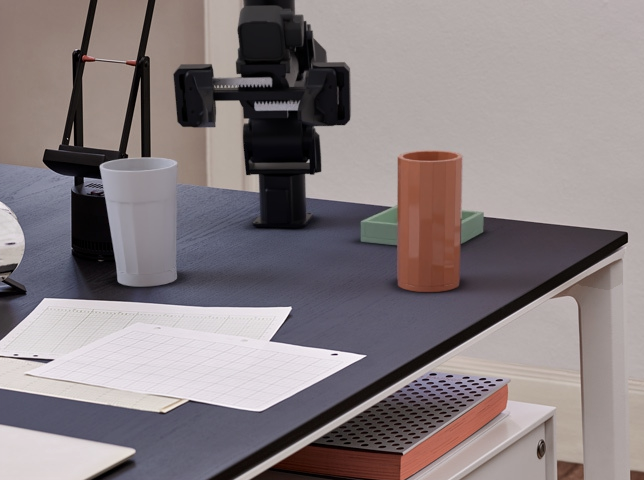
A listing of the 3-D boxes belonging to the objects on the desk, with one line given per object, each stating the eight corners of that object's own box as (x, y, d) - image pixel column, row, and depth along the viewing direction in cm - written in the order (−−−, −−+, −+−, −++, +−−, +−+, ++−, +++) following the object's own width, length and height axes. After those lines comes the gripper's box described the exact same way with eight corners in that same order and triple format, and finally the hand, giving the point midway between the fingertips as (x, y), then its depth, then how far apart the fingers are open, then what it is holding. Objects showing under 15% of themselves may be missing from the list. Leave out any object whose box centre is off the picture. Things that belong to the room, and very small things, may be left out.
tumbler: (401, 275, 143) (402, 150, 138) (462, 276, 142) (465, 150, 137) (393, 291, 138) (394, 161, 132) (456, 293, 137) (459, 162, 131)
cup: (148, 265, 149) (139, 154, 144) (200, 276, 145) (193, 162, 140) (94, 281, 144) (83, 166, 139) (146, 292, 139) (137, 174, 134)
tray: (360, 241, 158) (360, 221, 157) (398, 224, 166) (398, 204, 165) (449, 251, 153) (449, 229, 152) (483, 232, 161) (484, 211, 160)
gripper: (180, 2, 147) (156, 35, 134) (352, -1, 146) (344, 33, 133) (189, 106, 153) (166, 147, 140) (353, 104, 152) (346, 145, 139)
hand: (254, 116), depth 138 cm, fingers open, 9 cm apart
